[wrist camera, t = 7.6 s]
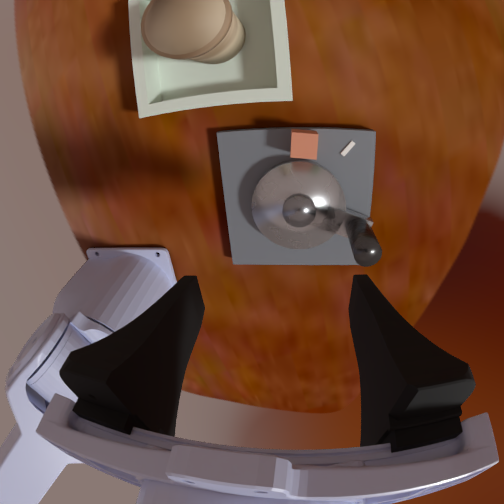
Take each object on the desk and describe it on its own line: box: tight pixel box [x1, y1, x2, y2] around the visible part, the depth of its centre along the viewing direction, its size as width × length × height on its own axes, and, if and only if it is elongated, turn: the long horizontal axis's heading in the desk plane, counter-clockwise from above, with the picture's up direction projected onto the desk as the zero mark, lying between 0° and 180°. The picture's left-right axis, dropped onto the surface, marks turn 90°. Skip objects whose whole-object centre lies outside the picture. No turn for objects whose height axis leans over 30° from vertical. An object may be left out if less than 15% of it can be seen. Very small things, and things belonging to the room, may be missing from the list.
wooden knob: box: [141, 0, 246, 64], centre depth 12 cm, size 4×4×6 cm
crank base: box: [217, 127, 376, 265], centre depth 19 cm, size 10×10×2 cm
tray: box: [128, 0, 293, 118], centre depth 14 cm, size 10×10×3 cm
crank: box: [251, 160, 382, 266], centre depth 18 cm, size 9×6×4 cm
